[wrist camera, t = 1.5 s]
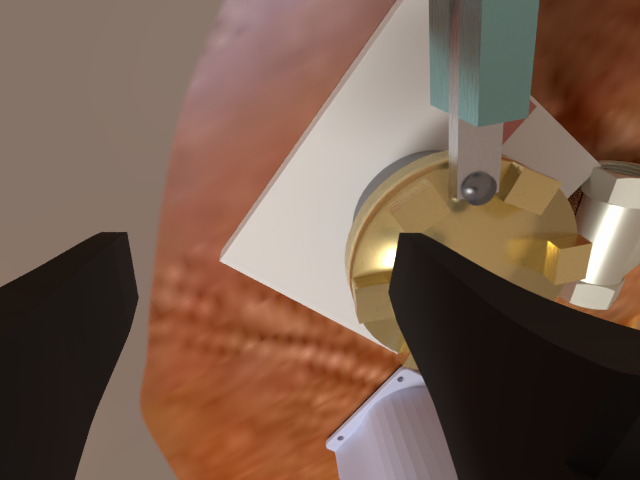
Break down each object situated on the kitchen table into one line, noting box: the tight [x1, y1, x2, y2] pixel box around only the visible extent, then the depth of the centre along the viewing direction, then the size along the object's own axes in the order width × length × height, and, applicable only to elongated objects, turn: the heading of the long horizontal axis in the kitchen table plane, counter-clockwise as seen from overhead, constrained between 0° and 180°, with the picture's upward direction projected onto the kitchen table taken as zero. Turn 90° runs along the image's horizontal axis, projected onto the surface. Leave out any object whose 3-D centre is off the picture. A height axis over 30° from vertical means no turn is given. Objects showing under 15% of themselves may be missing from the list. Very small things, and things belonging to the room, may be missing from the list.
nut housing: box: [220, 0, 601, 354], centre depth 21 cm, size 16×14×4 cm
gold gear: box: [344, 0, 593, 370], centre depth 16 cm, size 18×10×4 cm, turn 9°
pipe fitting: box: [558, 160, 640, 310], centre depth 24 cm, size 8×4×7 cm
